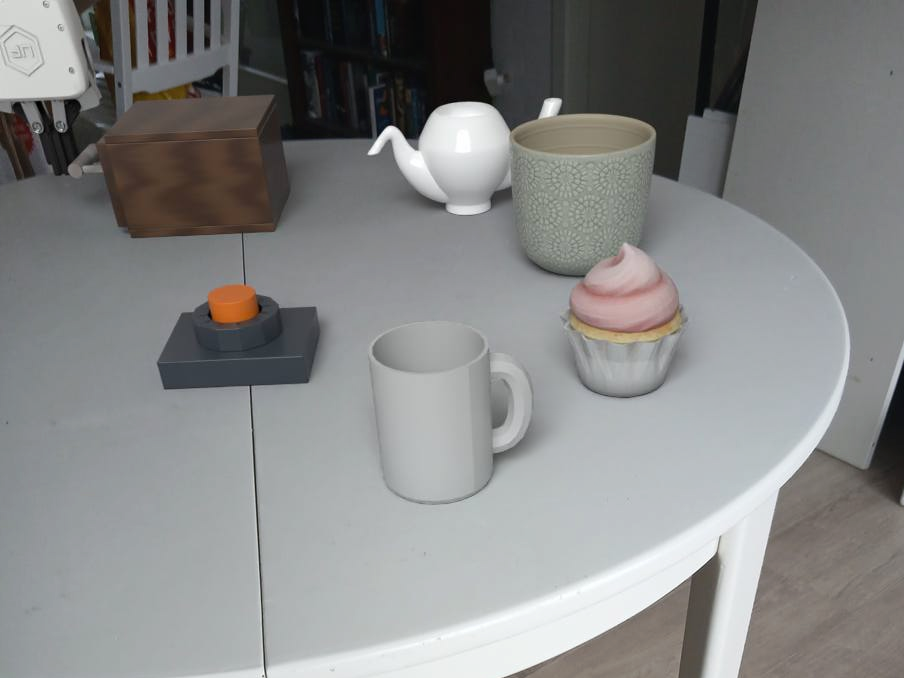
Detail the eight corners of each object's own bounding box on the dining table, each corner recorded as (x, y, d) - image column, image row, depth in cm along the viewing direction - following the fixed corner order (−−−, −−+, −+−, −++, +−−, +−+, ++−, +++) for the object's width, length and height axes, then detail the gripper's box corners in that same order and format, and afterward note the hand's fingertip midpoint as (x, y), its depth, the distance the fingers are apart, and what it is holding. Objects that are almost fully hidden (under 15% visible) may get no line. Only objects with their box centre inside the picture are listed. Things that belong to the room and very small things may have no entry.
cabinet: (130, 238, 100) (103, 135, 93) (159, 197, 109) (135, 100, 103) (274, 231, 100) (256, 127, 93) (290, 190, 109) (274, 94, 103)
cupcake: (565, 347, 77) (567, 216, 71) (686, 353, 76) (700, 219, 69) (549, 405, 71) (550, 266, 64) (681, 413, 69) (697, 271, 62)
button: (208, 327, 74) (203, 304, 73) (217, 307, 77) (212, 285, 76) (255, 324, 74) (251, 302, 73) (262, 305, 77) (258, 283, 76)
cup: (376, 455, 66) (360, 328, 61) (520, 434, 68) (519, 309, 62) (391, 514, 61) (375, 382, 55) (547, 491, 62) (548, 359, 56)
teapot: (366, 205, 104) (355, 108, 98) (546, 182, 108) (546, 87, 101) (383, 236, 97) (372, 133, 91) (575, 210, 101) (577, 110, 94)
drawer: (77, 229, 100) (51, 146, 94) (107, 192, 108) (85, 114, 103) (251, 221, 99) (235, 137, 94) (267, 184, 108) (253, 106, 103)
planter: (534, 232, 96) (534, 110, 89) (660, 243, 93) (670, 116, 86) (492, 281, 88) (488, 150, 81) (628, 295, 84) (637, 159, 77)
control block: (163, 389, 75) (149, 339, 72) (187, 337, 82) (176, 290, 79) (307, 383, 75) (299, 332, 72) (320, 331, 81) (312, 284, 79)
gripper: (-94, -35, 87) (-19, 186, 99) (76, -41, 87) (131, 180, 99) (-61, -46, 92) (6, 163, 104) (98, -52, 92) (147, 158, 104)
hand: (66, 171), depth 101 cm, fingers closed
